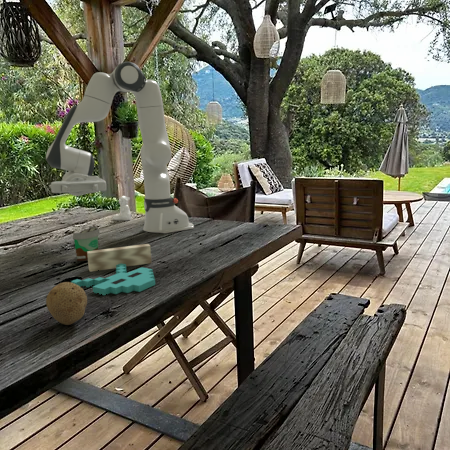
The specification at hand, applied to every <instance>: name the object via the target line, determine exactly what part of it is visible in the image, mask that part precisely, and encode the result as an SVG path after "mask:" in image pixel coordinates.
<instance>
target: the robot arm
mask: <svg viewBox="0 0 450 450" xmlns="http://www.w3.org/2000/svg"><path fill="white" fill-rule="evenodd" d="M117 93H122V94H125V93H132V95H133V96H134V98H135V102H136V112H137V119H138V121H137V122H138V128H139V130H140V135H141V139H142V146H141V147H140V150H139V151H140V160H141V161H140V163H141V168H142V176H143V184H144V199H143V200H144V202H143V204H144V205H143V206H144V211H145V213H144V215H145V217H144V222H143V223H144V224H143V227H142V229H143V231H144V232H147V233H148V232H149V233H160V234H168V233H175V232H180V231H186V230H191V229H194V228H195V224H193V223H192V222H190V221H189V217H188V214H187V213H186V212H185V211H184V210H183V209H181V208H179V206H176V205H175V204H178V203H179V200H178V198H176V197H175V198H174V197H173V196H172V197H171V185H170V184H171V182H170V176H169V172H168V164H169V163H170V161H171V159H172V156H173V155H172V150H171V149H172V148H171V144H170V143H171V142H170V139H169V135H168V132H167V127H166V120H165V119H166V118H165V109H164V103H163V98H162V93H161V88H160V86H159V84H158V82H156V80H153V79H147V77H146V76H145V74H144V73H143V72H142V70H141V69H140V67H139V66H138V65H137V64H136V63H134V62H131V61H122V62H121V63H119V64H118V65H117V66H116V67H115V68H114V69H113V71H112V72H110V73H106V72H101V71H100V72H98V71H97V72H95V73H94V74H93V75H92V76H91V78H90V80H89V81H88V84H87V86H86V89H85V91H84V94H83V98H82V100H81V101H80V102H79V104H76V105H73V106H72V107H71V108H70V109H69V111H68V113H67V114H66V116H65V118H64V120H63V122H62V123H61V126H60V128H59V130H58V132H57V133H56V136H55V138H54V140H53V141H52V143H51V144H50V146H49V147H48V149H47V151H46V155H45V160H46V162H47V164H48V165H49V167H51V168H54V169H61V170H64V171H67V172H65V173H64V175H63V176H62V180H60V181H59V180H58V181H52V182H50V184H49V185H48V187H49V188H50V190H51V193H52V194H60V193H61V194H63V193H64V194H65V193H68V194H69V195H72V196H74V197H80V196H83V195H86V194H88V195H89V194H92V193H99V192H105V191H107V182H106V180H104V179H103V178H101V177H100V176H98V175H93V172H94V169H95V163H96V162H95V159H94V156H93V154H92V153H91V152H89V151H86V150H83V149H80V148H79V149H78V148H75V147H72V146H70V145H67V144H66V141H67V139H68V138H69V136H70V134H71V132H72V130H73V128H74V127H75V125H78V124H81V123H97V122H100V121H101V122H102V120H104V119H106V118H107V117H108V115H109V112H110V110H111V106H112V105H113V100H114V97H115V95H116V94H117Z"/></svg>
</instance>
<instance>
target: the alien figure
mask: <svg viewBox="0 0 450 450" xmlns="http://www.w3.org/2000/svg"><path fill="white" fill-rule="evenodd" d="M70 282H71V283H74V284H76V285H78V286H80V287H81V286H82V287H84V286H86V287H85V288H91V287H92V293H93V292H94V293H93V294H97V293H99V294H98V295H101V294H102V296H106V294H107V295H109V294H114V295H118V294H120V293H124V294H125V293H126V294H129V293H131V292H132V293H133V292H139V293H141V292H142V291H145V290H146V289H148V288H149V289H150V288H152V287H153V286H156V278H155V275H154V272H153V269H152V268H147V267H139V268H137V269H136V268H135V269H134V270H132V271H128V272H127V267H126V264H122V263H120V264H118V265H116V268H115V274H113V275H110V276H108V277H107V276H106V277H105V278H104V277H101V276H99V277H96V278H89V277H87V278H85V279H78V278H76V279H73V280H70ZM92 285H93V286H92ZM90 286H91V287H90ZM82 287H81V288H82Z"/></svg>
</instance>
